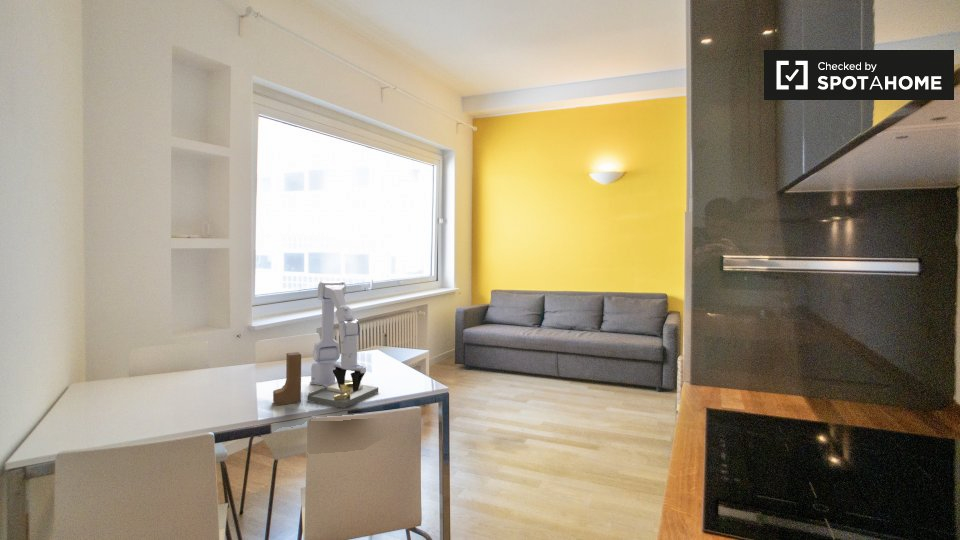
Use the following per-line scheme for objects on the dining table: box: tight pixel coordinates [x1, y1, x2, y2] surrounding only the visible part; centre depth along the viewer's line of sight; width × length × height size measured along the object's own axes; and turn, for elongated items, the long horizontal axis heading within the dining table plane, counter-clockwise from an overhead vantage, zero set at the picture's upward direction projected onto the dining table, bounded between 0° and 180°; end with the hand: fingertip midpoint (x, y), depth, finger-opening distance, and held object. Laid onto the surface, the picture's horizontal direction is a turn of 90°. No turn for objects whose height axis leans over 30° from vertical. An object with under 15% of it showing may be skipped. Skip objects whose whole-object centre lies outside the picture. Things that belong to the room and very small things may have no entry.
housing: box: [306, 382, 379, 409], centre depth 193 cm, size 17×21×3 cm
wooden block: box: [272, 351, 302, 406], centre depth 184 cm, size 9×4×18 cm, turn 121°
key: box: [334, 382, 353, 399], centre depth 185 cm, size 8×1×5 cm, turn 129°
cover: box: [327, 378, 364, 393], centre depth 196 cm, size 10×9×2 cm
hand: (348, 389), depth 186 cm, fingers open, 6 cm apart
